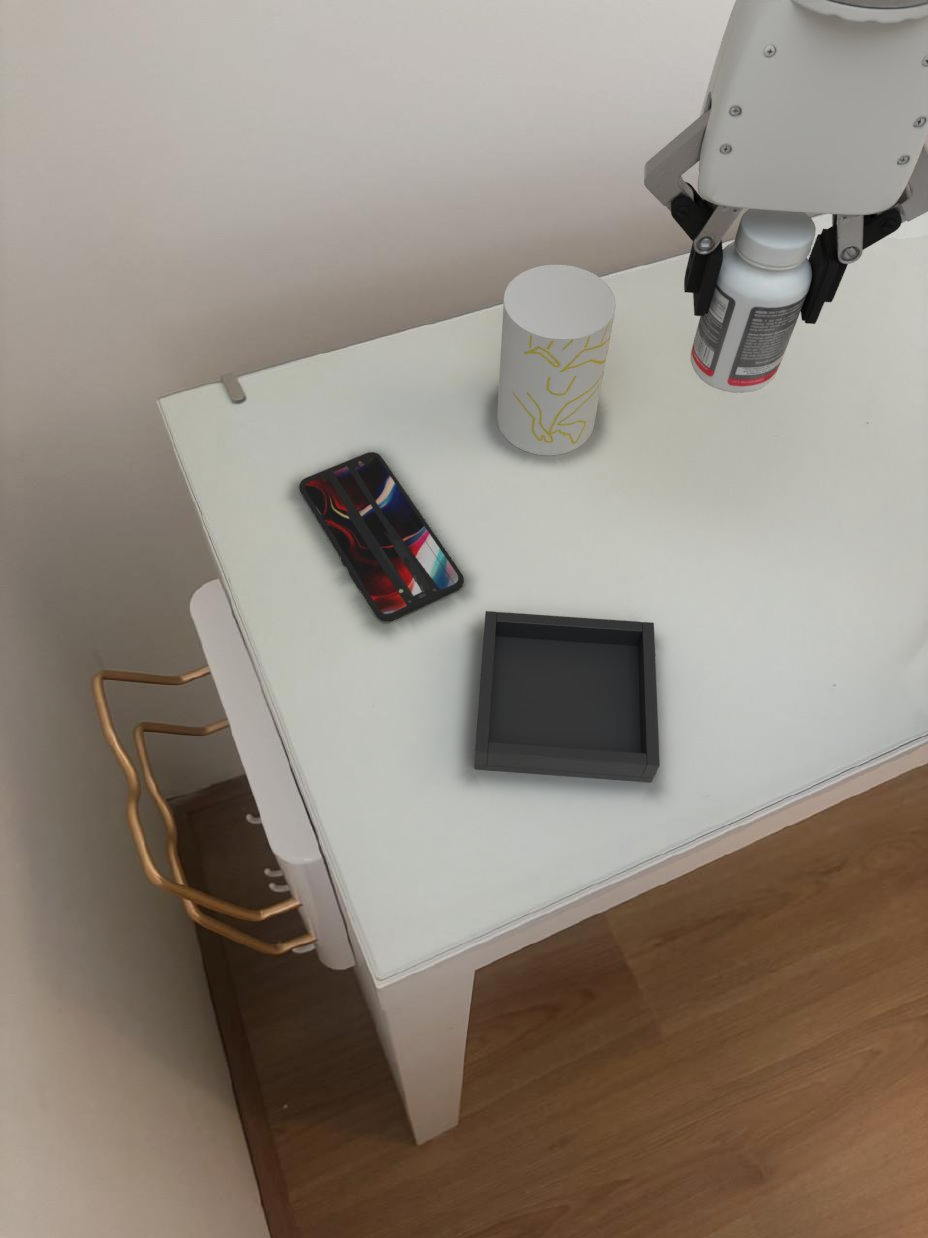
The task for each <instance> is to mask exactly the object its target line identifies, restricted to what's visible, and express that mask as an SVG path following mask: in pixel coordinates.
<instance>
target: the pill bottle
mask: <svg viewBox="0 0 928 1238" xmlns="http://www.w3.org/2000/svg"><path fill="white" fill-rule="evenodd" d="M816 229H817V228H816V224H815V222H814V220H813V218H811V217H810V215H808V213H804V212H788V211H773V210H759V209H746V211H745V212H744V213H743V214H742V216H741V218H740V220H739V224H738V227H737V230H736V234H735V237H734V241H732V242H730V243H728V244H727V245H726V246H725V247H724V248H722V249H723V262H722V266H721V269H720V273H719V276H718V280H717V283H716V287H715V290H714V294H713V297H712V301H711V305H710V308H709V312H708V314H705V315H704V316H699V320H698V323H697V328H696V331H695V335H694V339H693V343H692V346H691V349H690V356H689V357H690V358H689V359H690V364H691V367H692V369H693V371H694V373H695V374H696V375H697V377H698V378H699V379H700V380H701V381H703V382H704V383H705V384H707V385H708V386H710V387H712V388H715V389H716V390H719V391H722V392H727V393H732V394H733V393H734V394H744V393H745V394H746V393H752V392H756V391H758V390H762V389H764V388H765V387H766V386H768V385H769V384H770V383H771V382H772V381H773V380H774V378H775V377H776V375H777V373H778V371H779V368H780V365H781V363H782V361H783V359H784V356H785V353H786V350H787V347H788V346H789V342H790V340H791V338H792V335H793V332H794V330H795V327H796V324H797V322H798V319H799V316H800V315H801V309H802V306H803V304H804V301H805V298H806V296H807V293H808V291H809V288H810V284H811V281H812V269H811V265H810V263H809V261H808V259H809V258H808V256H810V254H811V251H812V247H813V246H812V245H813V244H814V239H815V236H816V231H817V230H816Z"/></svg>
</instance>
